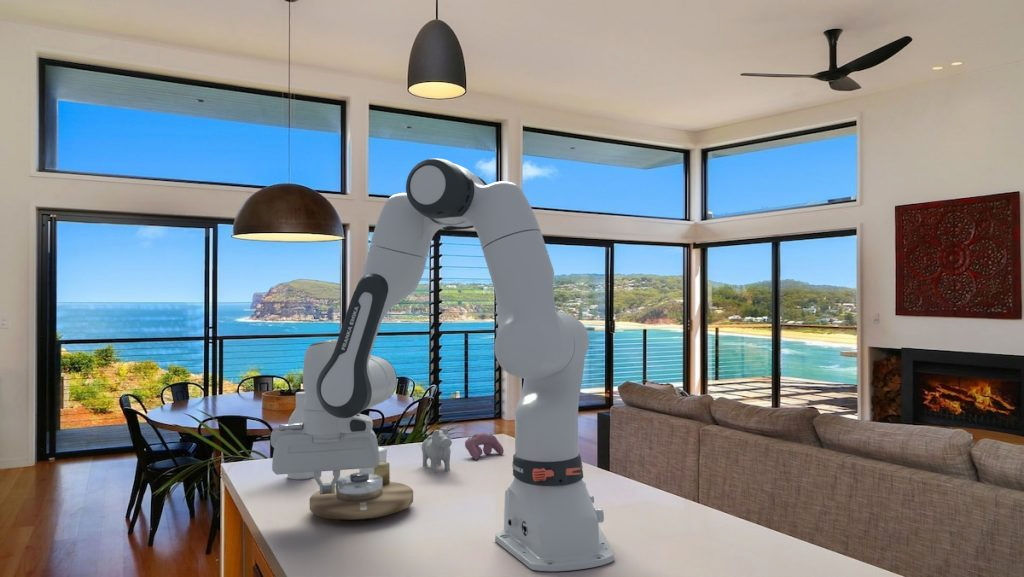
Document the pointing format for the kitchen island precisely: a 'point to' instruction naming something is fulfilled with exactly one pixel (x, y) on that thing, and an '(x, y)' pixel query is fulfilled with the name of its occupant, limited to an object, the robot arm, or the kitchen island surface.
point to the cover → (359, 487)
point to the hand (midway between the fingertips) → (327, 493)
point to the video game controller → (483, 439)
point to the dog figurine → (437, 449)
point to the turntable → (388, 503)
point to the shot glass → (382, 459)
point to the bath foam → (298, 419)
